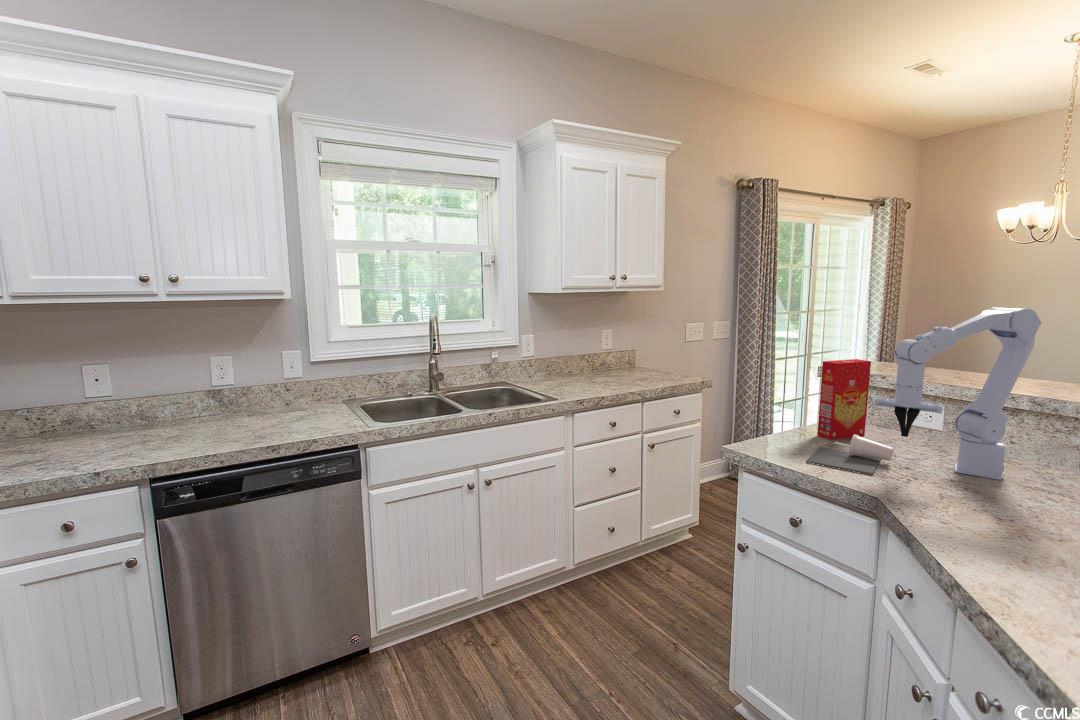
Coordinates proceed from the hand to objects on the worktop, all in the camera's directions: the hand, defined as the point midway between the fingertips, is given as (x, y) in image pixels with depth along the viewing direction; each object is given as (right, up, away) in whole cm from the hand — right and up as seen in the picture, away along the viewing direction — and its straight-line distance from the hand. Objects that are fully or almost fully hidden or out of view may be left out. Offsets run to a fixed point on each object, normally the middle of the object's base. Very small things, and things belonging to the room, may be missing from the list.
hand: (904, 435), depth 138 cm
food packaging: (+3, -5, +35) cm, 35 cm away
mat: (-10, -9, +10) cm, 17 cm away
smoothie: (+1, -6, +6) cm, 9 cm away
